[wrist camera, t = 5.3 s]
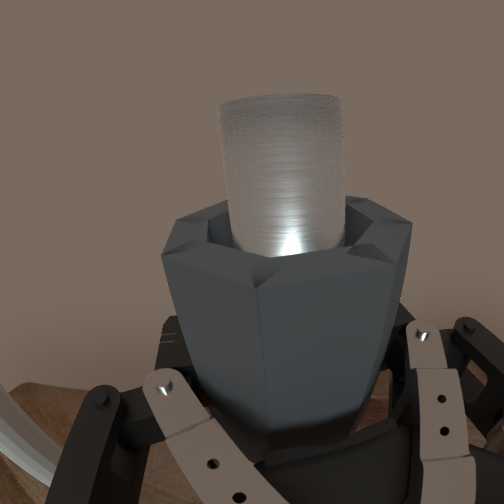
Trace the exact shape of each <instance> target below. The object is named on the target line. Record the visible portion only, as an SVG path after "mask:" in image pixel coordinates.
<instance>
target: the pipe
mask: <svg viewBox="0 0 504 504" xmlns="http://www.w3.org/2000/svg"><path fill="white" fill-rule="evenodd" d="M0 451H1V452H2V453H4V454H5V455H6V456H7V457H8V458H10V459H11V460H12V461H13V462H15V463H16V464H17V465H19V466H20V467H21V468H23V469H24V470H25V471H27V472H28V473H29V474H31V475H32V476H34V477H35V478H37V479H38V480H40V481H41V482H43V483H44V484H46V485H47V486H49V487H50V485H51V482H52V479H53V476H54V473H55V470H56V467H57V465H58V462H59V459H60V456H61V454H62V451H63V449H62V448H61V447H59V446H58V445H57V444H56V443H55V442H54V441H53V440H52V439H51V438H49V437H48V436H47V435H46V434H45V433H44V432H43V431H42V430H41V429H40V428H39V427H38V426H37V425H36V424H35V423H34V422H33V421H32V420H31V419H30V418H29V417H28V416H27V415H26V413H25V412H24V411H23V410H22V409H21V408H20V407H19V406H18V405H17V403H16V402H15V401H14V400H13V399H12V398H11V396H10V395H9V394H8V393H7V392H6V390H5V389H4V388H3V387H2V385H1V384H0Z"/></svg>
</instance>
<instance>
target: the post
mask: <svg viewBox="0 0 504 504" xmlns="http://www.w3.org/2000/svg"><path fill="white" fill-rule="evenodd" d="M217 110H218V120H219V130H220V139H221V148H222V157H223V166H224V175H225V183H226V192H227V200H228V209H229V217H230V225H231V233H232V241H233V249H237V250H241V251H246V252H250V253H254V254H258V255H262V256H266V257H277V256H284V255H291V254H298V253H305V252H312V251H319V250H326V249H333V248H340V247H344V235H345V149H344V128H343V114H342V102H341V99H340V98H338V97H334V96H328V95H318V94H274V95H263V96H255V97H248V98H242V99H237V100H232V101H229V102H225V103H222V104H220V105H218V106H217ZM250 463H251V464H252V465H254V463H252V462H251V461H250Z"/></svg>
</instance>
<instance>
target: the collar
mask: <svg viewBox="0 0 504 504" xmlns="http://www.w3.org/2000/svg"><path fill="white" fill-rule="evenodd" d="M411 231H412V222H410V221H408V220H406V219H404V218H402V217H401V216H399V215H397V214H395V213H393V212H392V211H390V210H388V209H386V208H384V207H382V206H380V205H378V204H376V203H375V202H373V201H371V200H369V199H367V198H360V197H353V196H345V235H344V247H340V248H333V249H326V250H319V251H312V252H305V253H298V254H291V255H284V256H277V257H266V256H262V255H258V254H254V253H250V252H246V251H241V250H237V249H233V241H232V233H231V225H230V217H229V209H228V200H226V201H223V202H221V203H218V204H216V205H213V206H210V207H208V208H205V209H202V210H200V211H197V212H195V213H192V214H190V215H187V216H185V217H182V218H180V219H177V220H176V222H175V224H174V226H173V229H172V231H171V233H170V236H169V238H168V240H167V243H166V245H165V248H164V250H163V252H162V255H161V258H162V262H163V266H164V269H165V274H166V277H167V281H168V285H169V289H170V292H171V296H172V299H173V303H174V307H175V310H176V313H177V317H178V320H179V324H180V327H181V330H182V333H183V336H184V339H185V343H186V346H187V349H188V352H189V355H190V358H191V361H192V363H193V366H194V369H195V371H196V374H197V377H198V380H199V383H200V385H201V388H202V391H203V393H204V396H205V399H206V401H207V404H208V406H209V409H210V412H211V414H212V417H214V418H215V419H216V421H217V422H218V423H219V424H220V426H221V427H222V428H223V430H224V431H225V432H226V433H227V435H228V436H229V437H230V438H231V440H232V441H233V442H234V443H235V445H236V446H237V447H238V448H239V450H240V451H241V452H242V453H243V454H244V456H245V457H246V458H247V459H248V460H249V461H251V462H252V463H254V464H256V463H258V462H261V461H263V460H264V456H263V453H264V452H270V451H276V450H282V449H287V448H292V447H296V446H324V445H335V444H337V443H339V442H341V441H343V440H345V439H346V438H348V437H350V436H351V435H353V433H354V431H355V429H356V428H357V426H358V424H359V422H360V420H361V418H362V416H363V415H364V412H365V410H366V407H367V405H368V402H369V400H370V397H371V395H372V392H373V389H374V386H375V384H376V381H377V378H378V375H379V371H380V368H381V365H382V362H383V359H384V356H385V353H386V349H387V346H388V343H389V339H390V336H391V332H392V328H393V326H394V322H395V318H396V314H397V310H398V306H399V301H400V297H401V292H402V287H403V282H404V277H405V271H406V266H407V259H408V254H409V247H410V240H411Z"/></svg>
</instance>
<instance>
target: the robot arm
mask: <svg viewBox="0 0 504 504" xmlns="http://www.w3.org/2000/svg"><path fill="white" fill-rule="evenodd" d="M471 359H472V360H473V361H474V362H475V363H476V364H477V365H478V366H479V367H480V368H481V369H482V370H483V371H484V372H485V373H486V375H487V378H488V382H487V385H486V386H484V385H483V384H482V383H481V382H480V381H479V380H478V379H477V378H476V377H475V376H474V375H473V374H472V373H471V372H470V371H469V370H468V369H467V368H466V367H467V366H468V364H469V362H470V360H471ZM386 369H390V370H391V374H390V377H389V411H388V418H387V419H385V420H383V421H380V422H378V423H375V424H372V425H370V426H367V427H364V428H363V429H361V430H360V431H358V432H356V433H355V434H353V435H351V436H350V437H348V438H346V439H345V440H343V441H341V442H339V443H337V444H335V445H324V446H296V447H292V448H287V449H282V450H276V451H270V452H264V453H263V456H264V460H263V461H261V462H258V463H256V464H254V465H252V464H251V463H250V461H249V460H248V459H247V458H246V457H245V456H244V454H243V453H242V452H241V451H240V450H239V448H238V447H237V446H236V445H235V443H234V442H233V441H232V440H231V438H230V437H229V436H228V435H227V433H226V432H225V431H224V430H223V428H222V427H221V426H220V424H219V423H218V422H217V421H216V419H215V418H214V417H211V416H210V415H209V414H208V413H207V411H206V410H205V408H204V407H209V406H208V404H207V401H206V399H205V396H204V393H203V391H202V388H201V385H200V383H199V380H198V377H197V374H196V371H195V369H194V366H193V363H192V361H191V358H190V355H189V352H188V349H187V346H186V343H185V339H184V336H183V333H182V330H181V327H180V324H179V320H178V317H177V315H176V316H170V317H169V318H168V319H167V321H166V322H165V323H164V325H163V329H162V336H161V339H160V344H159V349H158V354H157V360H156V365H155V370H154V372H152V373H150V374H149V375H148V376H147V377H146V379H145V380H144V382H143V386H141V387H139V388H136V389H133V390H129V391H126V392H122V393H119V391H118V390H117V389H116V388H115V387H113V386H111V385H100V386H97V387H95V388H93V389H92V390H90V391H89V392H88V394H87V395H86V397H85V399H84V401H83V403H82V405H81V408H80V410H79V412H78V414H77V417H76V419H75V421H74V424H73V426H72V428H71V431H70V433H69V436H68V438H67V441H66V443H65V446H64V449H63V451H62V454H61V456H60V459H59V462H58V465H57V467H56V470H55V473H54V476H53V479H52V482H51V485H50V488H49V492H48V495H47V498H46V501H45V504H138V502H139V497H140V492H141V487H142V482H143V477H144V472H145V467H146V463H147V458H148V453H149V449H150V445H151V444H154V443H158V442H162V441H166V443H167V445H168V447H169V449H170V451H171V452H172V454H173V456H174V458H175V459H176V461H177V463H178V464H179V466H180V468H181V469H182V471H183V473H184V474H185V476H186V478H187V479H188V481H189V482H190V484H191V485H192V487H193V488H194V490H195V491H196V493H197V494H198V496H199V497H200V499H201V500H202V501H203V503H204V504H504V343H503V342H502V341H501V340H499V339H498V338H497V337H496V336H495V335H494V334H492V333H491V332H490V331H489V330H488V329H486V328H485V327H484V326H483V325H482V324H480V323H479V322H478V321H477V320H475V319H473V318H470V317H462V318H459V319H458V320H457V321H456V322H455V325H454V327H453V329H444V330H438V328H437V327H436V326H435V325H434V324H432V323H430V322H428V321H425V320H416V319H415V318H414V317H413V316H412V315H411V314H410V313H409V312H408V311H407V310H406V309H405V307H404V306H403V305H402V304H401V303H400V302H399V306H398V310H397V314H396V318H395V322H394V326H393V328H392V332H391V336H390V339H389V343H388V346H387V349H386V353H385V356H384V359H383V362H382V365H381V368H380V371H383V370H386ZM380 371H379V372H380ZM465 414H466V416H467V417H468V418H469V419H470V420H471V422H472V423H473V424H474V425H475V426H476V427H477V429H478V430H479V431H480V432H481V434H482V435H483V436H484V437H485V438H486V441H487V443H486V444H485V446H484V449H482V448H479V447H476V446H474V445H471V444H468V434H467V424H466V416H465Z"/></svg>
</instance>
